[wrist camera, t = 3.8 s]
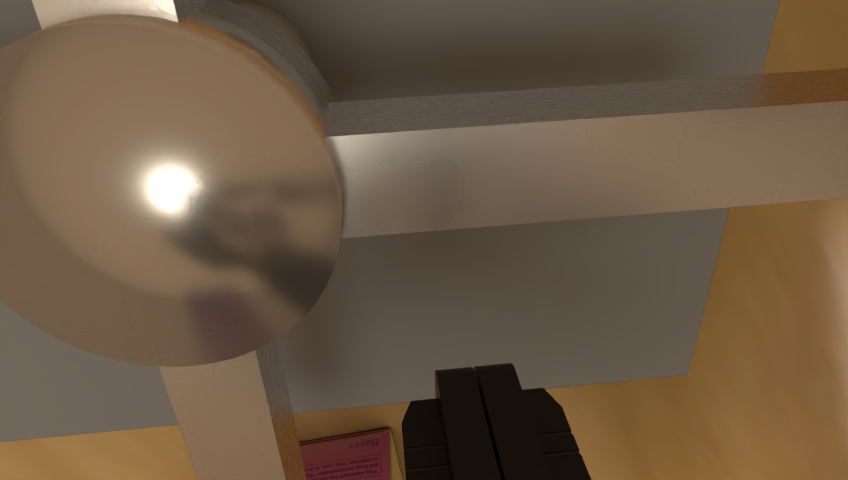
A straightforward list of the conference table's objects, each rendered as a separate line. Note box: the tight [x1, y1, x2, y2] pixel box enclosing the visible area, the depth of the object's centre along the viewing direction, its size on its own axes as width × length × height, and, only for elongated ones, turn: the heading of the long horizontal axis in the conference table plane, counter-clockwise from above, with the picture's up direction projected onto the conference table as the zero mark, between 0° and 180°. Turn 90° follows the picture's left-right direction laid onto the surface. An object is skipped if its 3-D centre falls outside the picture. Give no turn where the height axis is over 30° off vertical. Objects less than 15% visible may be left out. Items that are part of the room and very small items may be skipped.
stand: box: [0, 0, 780, 442], centre depth 12 cm, size 24×21×6 cm
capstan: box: [0, 0, 848, 480], centre depth 8 cm, size 22×20×2 cm
